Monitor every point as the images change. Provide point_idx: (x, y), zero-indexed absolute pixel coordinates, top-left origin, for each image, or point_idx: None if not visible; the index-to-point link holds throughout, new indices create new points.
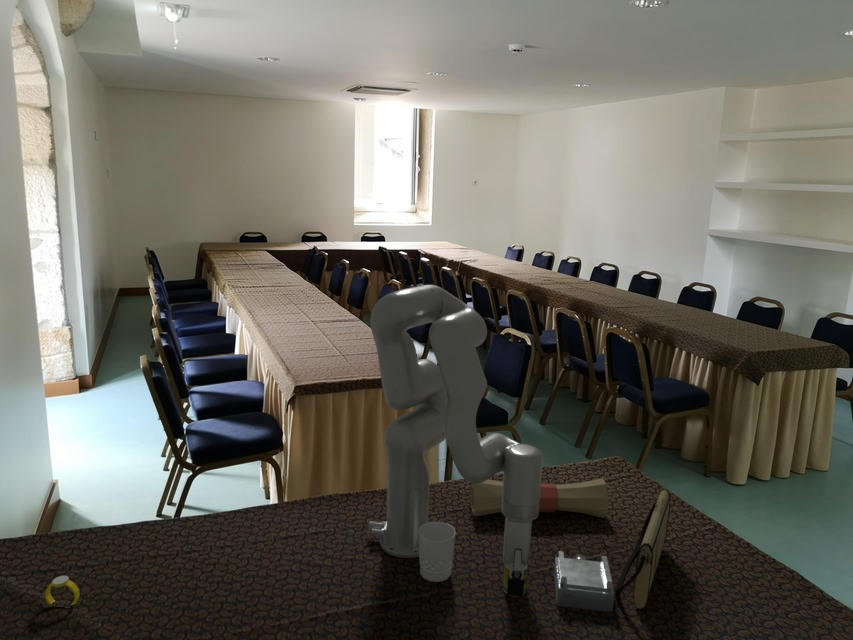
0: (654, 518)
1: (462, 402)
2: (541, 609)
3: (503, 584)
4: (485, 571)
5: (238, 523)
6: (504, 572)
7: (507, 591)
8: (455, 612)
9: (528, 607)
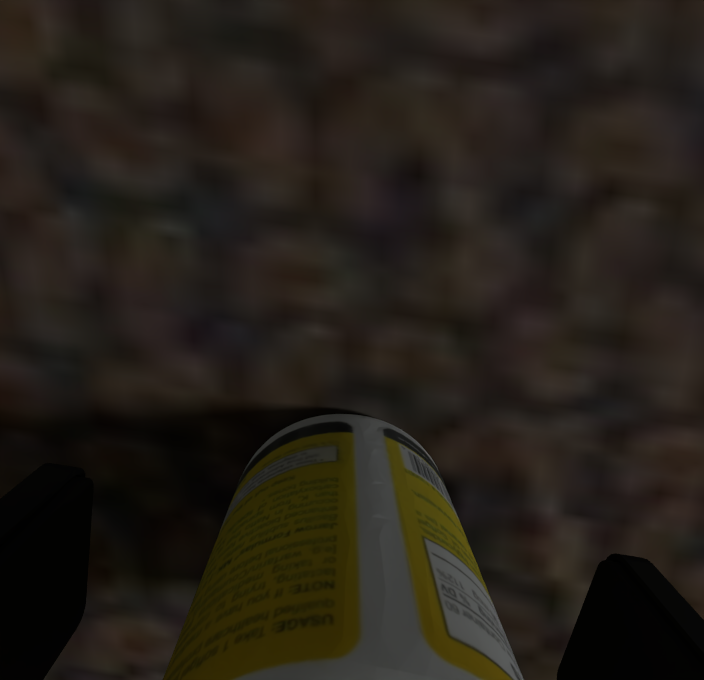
0: None
1: None
2: (100, 656)
3: (355, 433)
4: (660, 280)
5: None
6: (343, 535)
7: (25, 483)
8: None
9: (113, 572)
